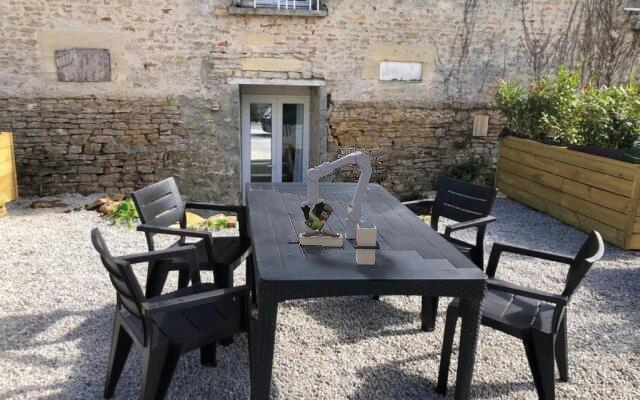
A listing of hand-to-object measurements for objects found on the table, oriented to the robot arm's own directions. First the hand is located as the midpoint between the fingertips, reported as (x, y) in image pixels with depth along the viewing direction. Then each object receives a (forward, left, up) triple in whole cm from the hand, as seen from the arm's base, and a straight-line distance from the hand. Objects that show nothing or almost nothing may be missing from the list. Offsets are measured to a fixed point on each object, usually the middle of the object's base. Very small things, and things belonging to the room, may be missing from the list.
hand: (312, 218), depth 238 cm
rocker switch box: (-1, +9, -10) cm, 14 cm away
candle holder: (-24, +34, -11) cm, 43 cm away
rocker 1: (+1, +9, -5) cm, 10 cm away
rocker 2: (-9, +9, -5) cm, 14 cm away
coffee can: (+1, -11, -8) cm, 13 cm away
